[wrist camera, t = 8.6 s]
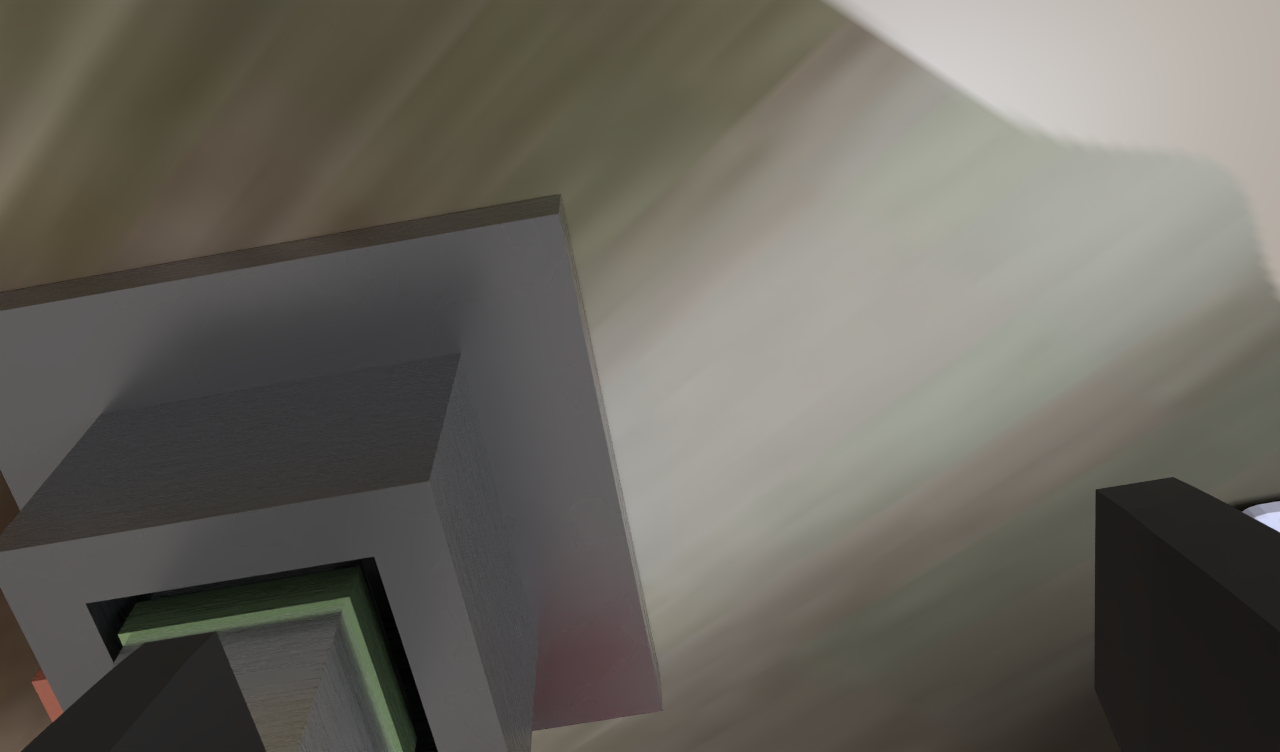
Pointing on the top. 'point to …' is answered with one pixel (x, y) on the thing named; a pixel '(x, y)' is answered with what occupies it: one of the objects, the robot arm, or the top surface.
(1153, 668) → the robot arm
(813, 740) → the top surface
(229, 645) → the light grey rectangular block
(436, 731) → the grey square socket base
